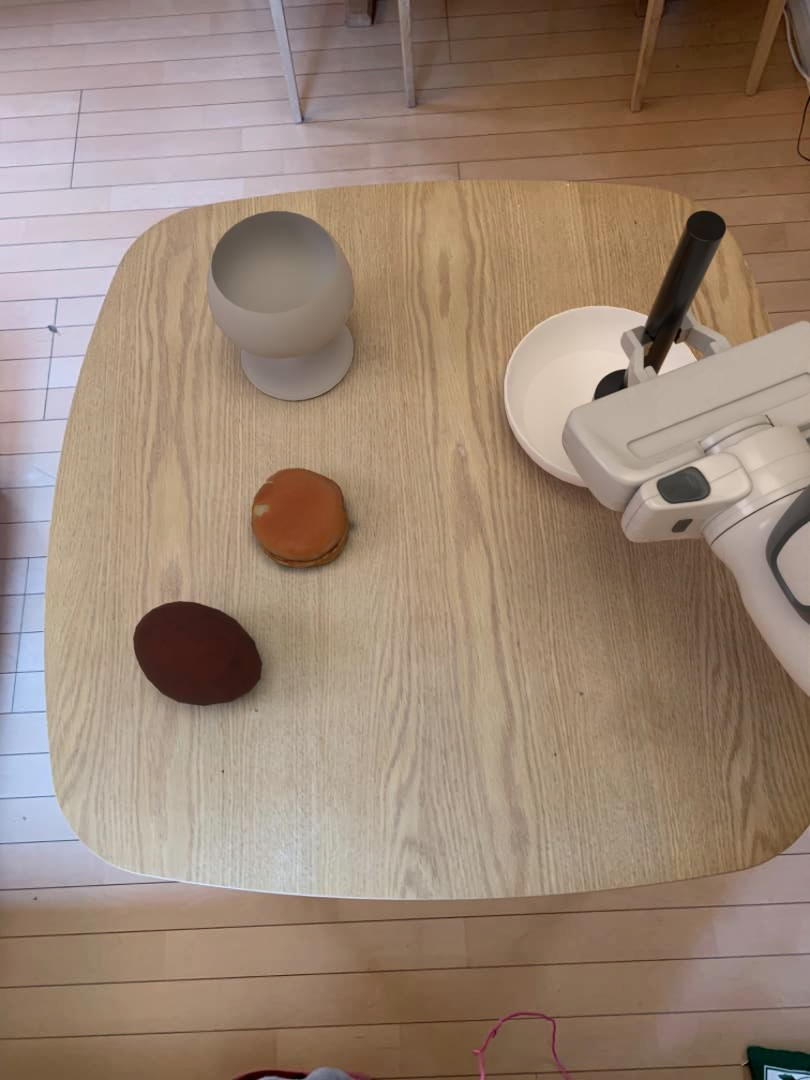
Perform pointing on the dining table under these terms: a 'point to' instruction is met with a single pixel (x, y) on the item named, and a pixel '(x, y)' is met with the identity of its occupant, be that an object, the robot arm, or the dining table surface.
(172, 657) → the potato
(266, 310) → the chalice
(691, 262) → the rod on round base
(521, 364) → the bowl
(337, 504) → the burger
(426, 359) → the dining table surface
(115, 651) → the dining table surface
